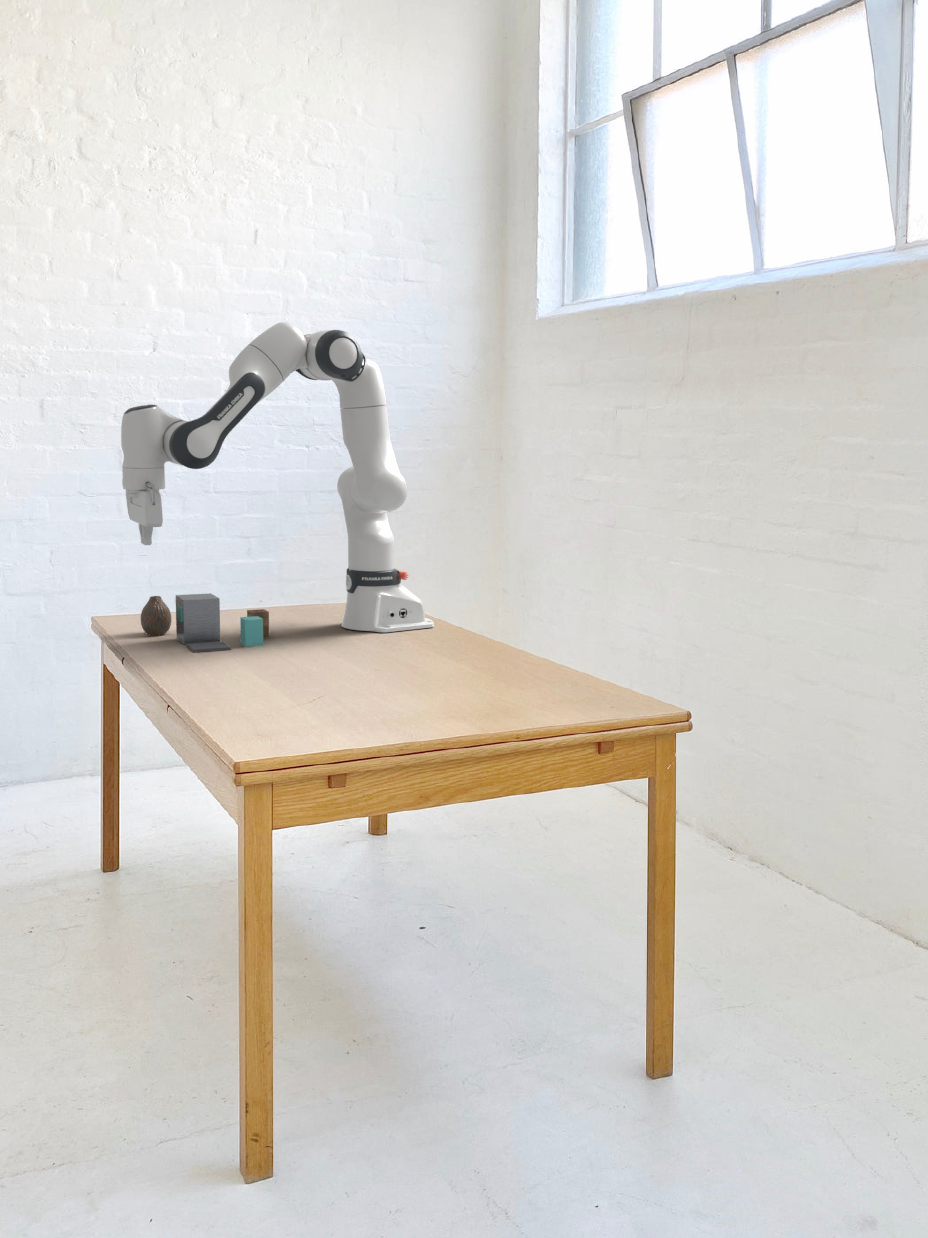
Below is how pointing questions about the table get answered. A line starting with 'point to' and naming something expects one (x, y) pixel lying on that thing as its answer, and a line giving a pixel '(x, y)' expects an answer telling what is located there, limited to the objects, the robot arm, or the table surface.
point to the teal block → (251, 631)
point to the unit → (197, 618)
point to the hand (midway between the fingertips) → (146, 544)
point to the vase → (156, 617)
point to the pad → (208, 646)
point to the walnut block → (264, 615)
